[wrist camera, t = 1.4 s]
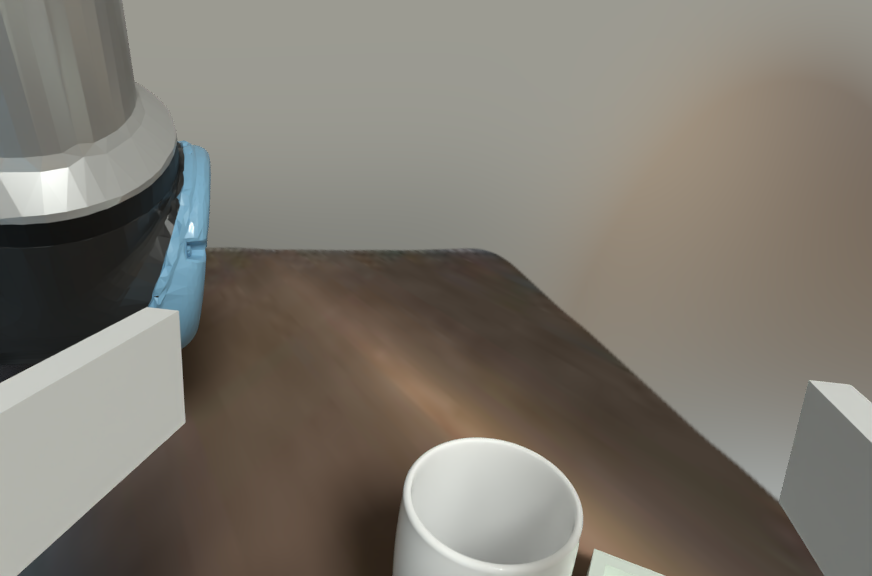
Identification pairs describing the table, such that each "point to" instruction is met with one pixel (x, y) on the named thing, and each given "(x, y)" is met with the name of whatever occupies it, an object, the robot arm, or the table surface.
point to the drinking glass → (486, 513)
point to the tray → (615, 566)
